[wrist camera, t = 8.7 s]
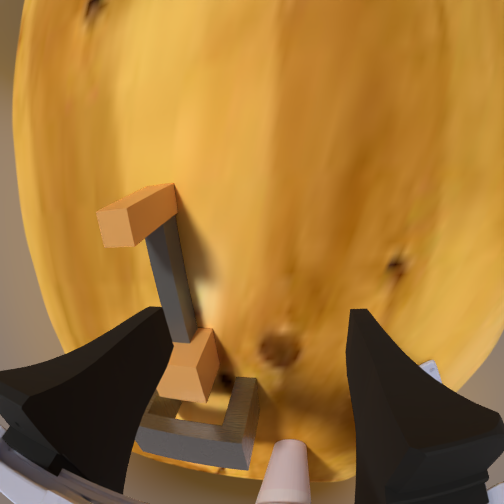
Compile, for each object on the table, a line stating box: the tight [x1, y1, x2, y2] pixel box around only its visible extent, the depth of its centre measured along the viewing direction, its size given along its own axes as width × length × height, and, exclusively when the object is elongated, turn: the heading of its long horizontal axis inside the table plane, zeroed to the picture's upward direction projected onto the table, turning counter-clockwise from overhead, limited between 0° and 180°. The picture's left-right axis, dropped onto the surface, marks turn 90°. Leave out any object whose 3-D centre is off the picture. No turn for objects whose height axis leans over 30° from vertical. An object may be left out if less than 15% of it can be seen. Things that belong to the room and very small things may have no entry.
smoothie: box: [256, 439, 311, 504], centre depth 23 cm, size 6×6×14 cm
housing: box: [135, 377, 260, 470], centre depth 24 cm, size 5×10×7 cm, turn 95°
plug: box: [96, 183, 220, 403], centre depth 20 cm, size 16×4×6 cm, turn 5°
